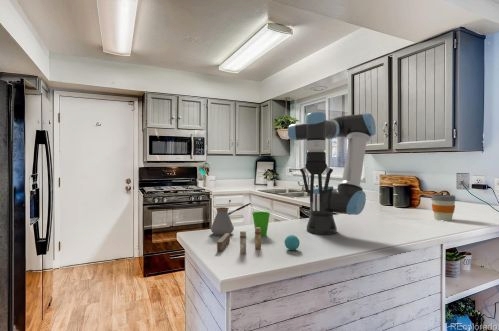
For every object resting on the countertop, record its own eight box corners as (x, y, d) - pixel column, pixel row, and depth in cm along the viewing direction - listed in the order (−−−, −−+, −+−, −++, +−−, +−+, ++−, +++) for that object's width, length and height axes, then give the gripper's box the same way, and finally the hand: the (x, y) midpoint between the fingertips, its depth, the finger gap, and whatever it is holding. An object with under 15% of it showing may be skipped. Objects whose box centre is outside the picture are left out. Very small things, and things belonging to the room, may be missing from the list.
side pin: (246, 252, 111) (246, 230, 111) (245, 254, 109) (245, 232, 109) (240, 252, 112) (240, 230, 112) (239, 254, 109) (239, 232, 109)
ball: (299, 248, 117) (299, 233, 117) (299, 252, 111) (299, 237, 111) (284, 247, 118) (284, 233, 118) (284, 251, 112) (284, 236, 112)
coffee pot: (213, 238, 133) (213, 206, 133) (208, 232, 144) (208, 203, 144) (255, 234, 140) (255, 204, 139) (248, 229, 150) (248, 201, 150)
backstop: (229, 242, 126) (229, 233, 125) (222, 252, 112) (222, 242, 112) (225, 242, 126) (225, 233, 126) (217, 251, 112) (217, 241, 112)
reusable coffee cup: (434, 220, 171) (434, 196, 171) (428, 217, 183) (428, 194, 183) (458, 222, 168) (459, 197, 167) (451, 218, 179) (451, 194, 179)
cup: (248, 236, 136) (248, 213, 135) (257, 232, 144) (256, 210, 143) (265, 238, 131) (265, 215, 131) (273, 234, 139) (273, 212, 139)
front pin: (261, 247, 118) (261, 227, 118) (260, 249, 115) (260, 228, 115) (255, 247, 118) (255, 227, 118) (254, 249, 116) (254, 228, 115)
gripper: (298, 151, 110) (298, 211, 110) (335, 151, 108) (335, 212, 108) (298, 152, 117) (298, 208, 118) (332, 151, 115) (332, 209, 116)
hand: (316, 210), depth 113 cm, fingers closed
